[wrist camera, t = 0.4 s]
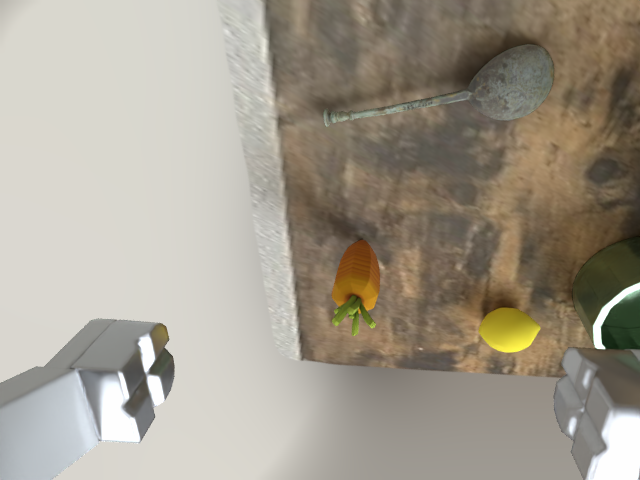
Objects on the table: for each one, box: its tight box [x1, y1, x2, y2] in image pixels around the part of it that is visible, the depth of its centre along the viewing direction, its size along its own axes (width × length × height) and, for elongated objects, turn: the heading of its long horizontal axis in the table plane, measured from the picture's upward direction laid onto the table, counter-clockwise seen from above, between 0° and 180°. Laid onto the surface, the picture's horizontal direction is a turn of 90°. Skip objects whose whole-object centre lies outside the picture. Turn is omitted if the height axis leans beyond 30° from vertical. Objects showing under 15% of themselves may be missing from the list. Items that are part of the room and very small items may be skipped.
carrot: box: [332, 240, 380, 336], centre depth 48 cm, size 5×5×15 cm
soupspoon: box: [323, 44, 554, 127], centre depth 43 cm, size 22×3×7 cm
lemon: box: [479, 308, 540, 352], centre depth 54 cm, size 7×5×5 cm
